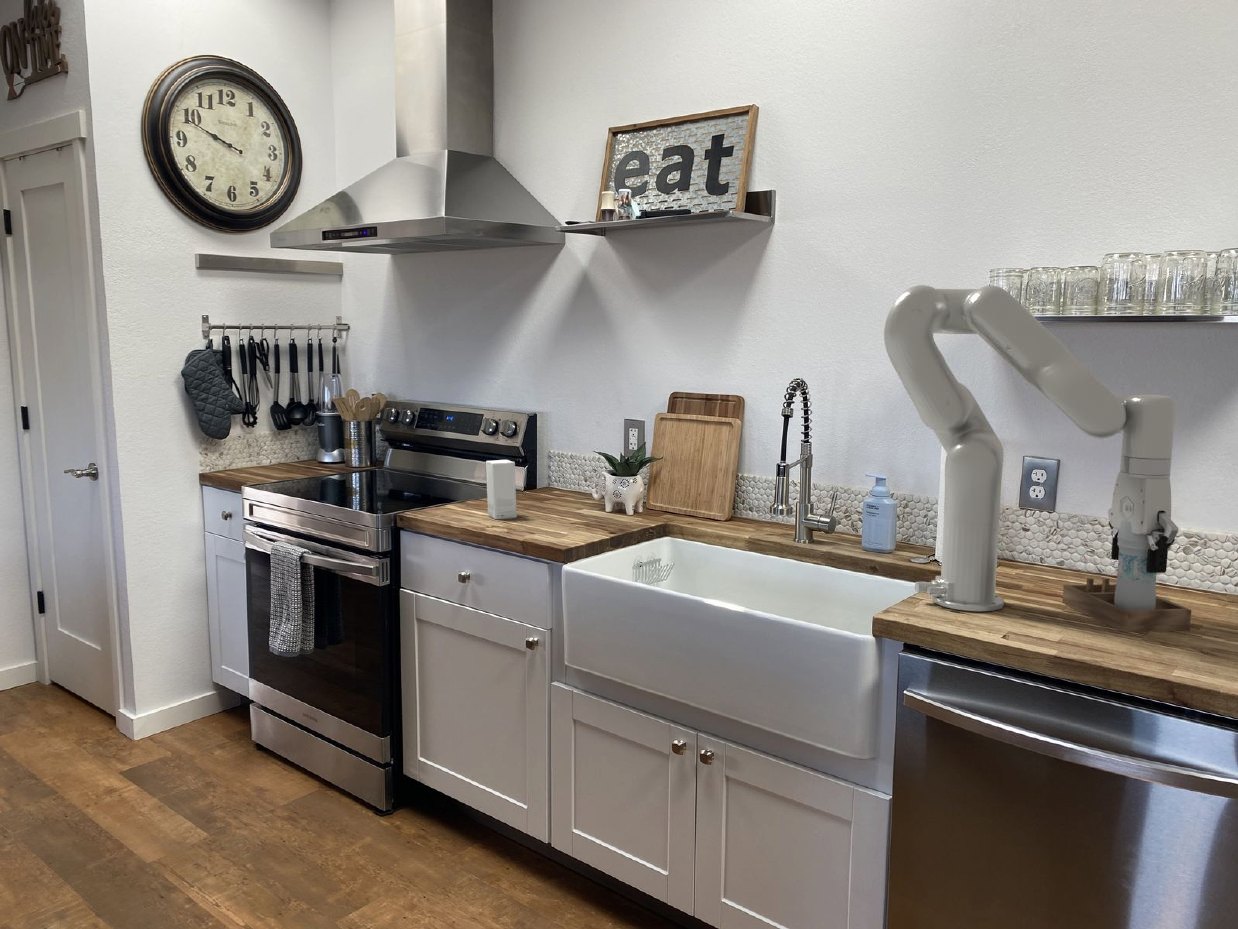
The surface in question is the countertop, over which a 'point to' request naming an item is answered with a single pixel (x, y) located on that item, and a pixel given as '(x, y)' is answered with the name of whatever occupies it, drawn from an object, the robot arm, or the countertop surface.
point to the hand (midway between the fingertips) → (1137, 565)
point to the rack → (1101, 607)
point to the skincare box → (501, 489)
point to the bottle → (1134, 572)
